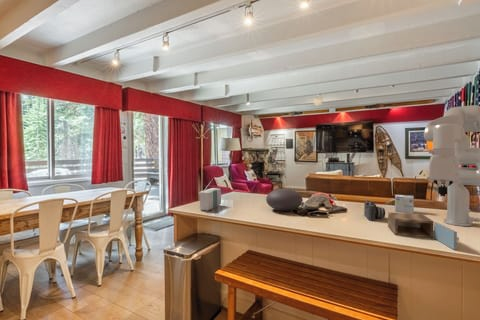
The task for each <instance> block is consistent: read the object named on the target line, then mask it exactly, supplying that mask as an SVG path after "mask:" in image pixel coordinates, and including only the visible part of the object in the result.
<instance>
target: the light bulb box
mask: <svg viewBox="0 0 480 320" xmlns="http://www.w3.org/2000/svg"><path fill="white" fill-rule="evenodd" d="M394 198H395V199H394V213H409V214H414V210H415V208H414V207H415V203H414V202H415V200H414V199H415V197H414V195H405V194H395V196H394Z"/></svg>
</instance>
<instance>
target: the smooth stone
mask: <svg viewBox="0 0 480 320" xmlns="http://www.w3.org/2000/svg"><path fill="white" fill-rule="evenodd" d="M265 201H266V203H267V205H268V206H269V207H270V208H271V209H274V210H277V211H281V212H290V211H294V210H296V209H298V208H300V206H302V204H303V201H304V200H303V196H302V194H300V193H299V192H298V191H296V190H294V189H290V188H277V189H274V190H272V191H270V192H269V193H268V194H267V195H266V198H265Z"/></svg>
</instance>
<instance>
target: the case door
mask: <svg viewBox="0 0 480 320" xmlns="http://www.w3.org/2000/svg"><path fill="white" fill-rule="evenodd" d="M457 234H458V232H457V231H456V230H454V229H451V228H450V227H447V226H445V225H444V224H441V223H439V222H437V221H434V225H433V238H434V239H435V240H437V241H438V242H440V243H442V244H444V245H445V246H447V247H448V248H450V249H451V250H455V251H456V250H457V242H459V241H460V238H459V237H458V235H457Z"/></svg>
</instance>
